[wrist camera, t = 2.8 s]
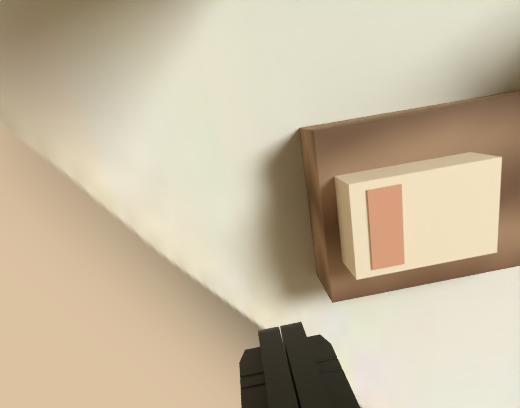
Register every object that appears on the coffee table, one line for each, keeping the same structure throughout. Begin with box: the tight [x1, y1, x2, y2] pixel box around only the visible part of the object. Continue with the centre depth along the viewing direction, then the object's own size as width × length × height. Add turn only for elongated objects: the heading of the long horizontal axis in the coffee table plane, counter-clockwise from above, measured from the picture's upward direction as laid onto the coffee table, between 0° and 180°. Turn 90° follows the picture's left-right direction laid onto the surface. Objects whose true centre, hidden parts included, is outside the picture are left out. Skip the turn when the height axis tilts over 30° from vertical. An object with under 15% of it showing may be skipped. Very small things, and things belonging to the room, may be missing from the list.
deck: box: [300, 91, 520, 303], centre depth 23 cm, size 12×17×4 cm
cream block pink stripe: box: [334, 152, 502, 280], centre depth 20 cm, size 6×9×3 cm, turn 99°
